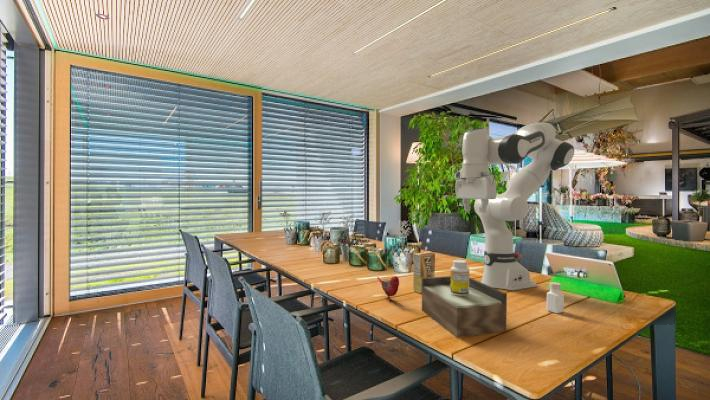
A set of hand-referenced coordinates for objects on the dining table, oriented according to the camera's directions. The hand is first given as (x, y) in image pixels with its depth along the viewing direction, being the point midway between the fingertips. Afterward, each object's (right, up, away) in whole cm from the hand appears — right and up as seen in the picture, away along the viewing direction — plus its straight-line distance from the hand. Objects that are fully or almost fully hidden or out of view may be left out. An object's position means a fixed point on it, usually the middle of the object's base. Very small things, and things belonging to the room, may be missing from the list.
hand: (474, 211), depth 123 cm
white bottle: (+24, -34, -8) cm, 42 cm away
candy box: (-15, -33, +16) cm, 39 cm away
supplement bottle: (-11, -25, -17) cm, 32 cm away
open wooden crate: (-10, -34, -16) cm, 38 cm away
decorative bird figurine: (-31, -33, +5) cm, 46 cm away
